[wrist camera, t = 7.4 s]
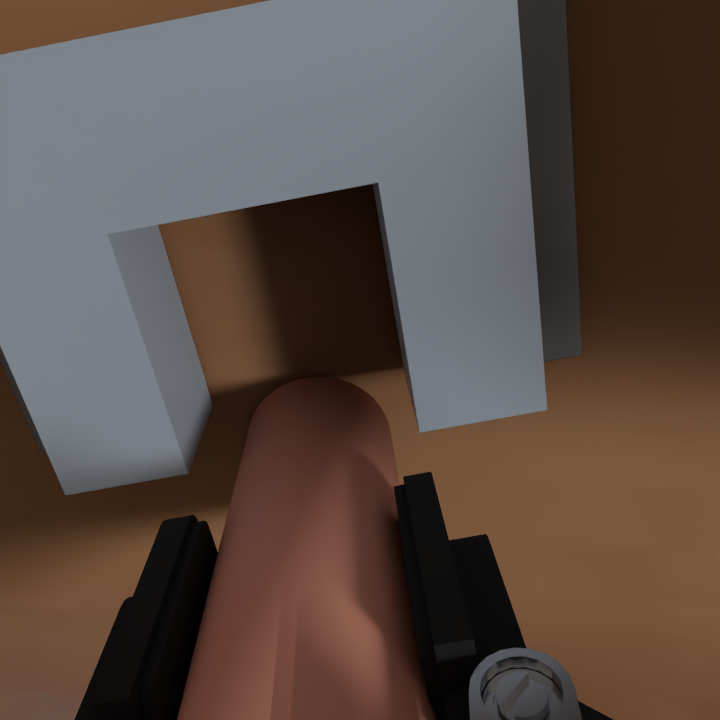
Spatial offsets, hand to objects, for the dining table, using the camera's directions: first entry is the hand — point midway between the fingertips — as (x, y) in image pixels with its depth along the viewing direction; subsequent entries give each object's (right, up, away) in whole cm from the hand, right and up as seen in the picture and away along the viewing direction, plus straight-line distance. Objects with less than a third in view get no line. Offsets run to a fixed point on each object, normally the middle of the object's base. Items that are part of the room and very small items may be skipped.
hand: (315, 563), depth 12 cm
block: (-1, +7, +2) cm, 7 cm away
